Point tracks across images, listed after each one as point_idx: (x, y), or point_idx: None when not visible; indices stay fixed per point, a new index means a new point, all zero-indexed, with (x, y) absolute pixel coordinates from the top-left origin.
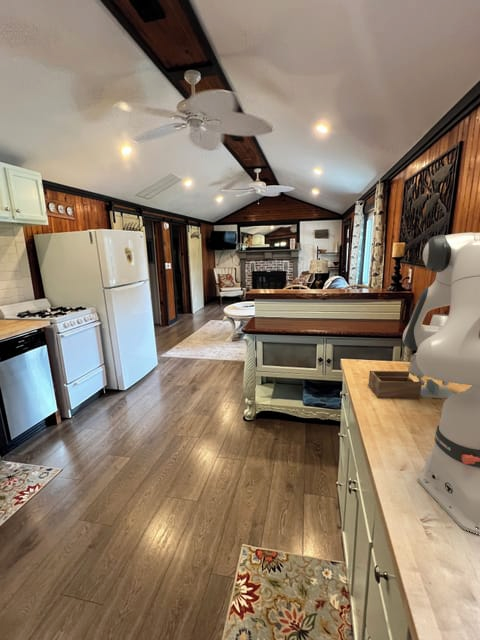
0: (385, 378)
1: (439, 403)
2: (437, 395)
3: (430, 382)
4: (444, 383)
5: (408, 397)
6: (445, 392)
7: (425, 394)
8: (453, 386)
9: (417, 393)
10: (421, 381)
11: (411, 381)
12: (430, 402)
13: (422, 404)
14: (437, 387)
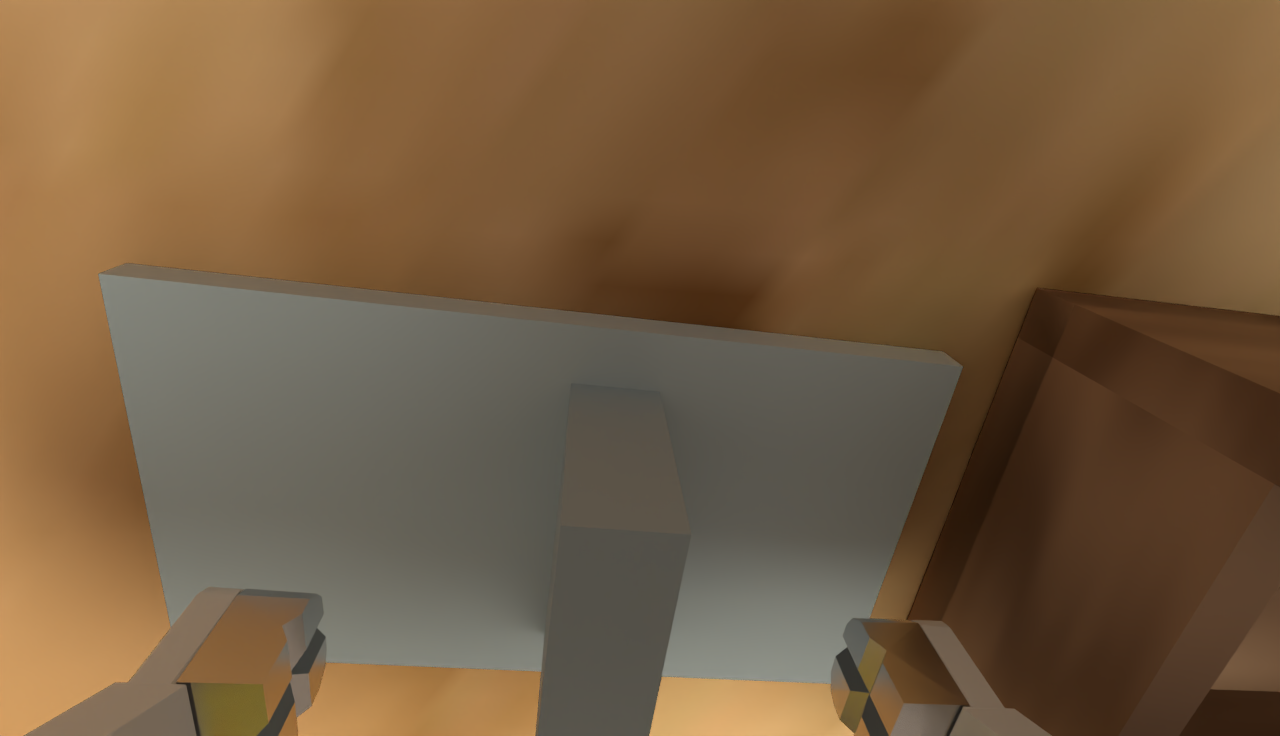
0: None
1: (762, 53)
2: (602, 356)
3: (647, 709)
4: (286, 653)
5: (1261, 322)
6: (331, 467)
7: (831, 408)
8: (8, 691)
9: (1201, 336)
10: (1006, 713)
11: (1173, 732)
12: (929, 123)
13: (1178, 50)
14: (611, 491)
